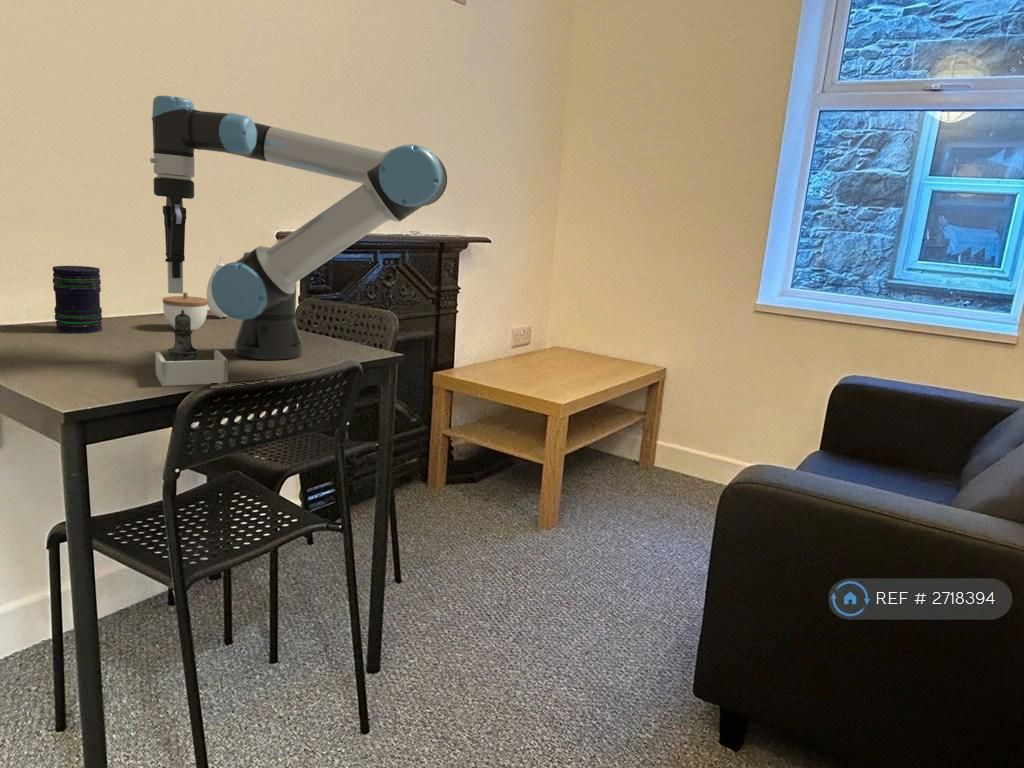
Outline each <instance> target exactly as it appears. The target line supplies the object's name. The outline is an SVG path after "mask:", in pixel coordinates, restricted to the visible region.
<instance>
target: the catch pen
mask: <svg viewBox="0 0 1024 768" xmlns="http://www.w3.org/2000/svg"><path fill="white" fill-rule="evenodd" d="M213 351H214V352H213V355H214V357H213V359H203V360H201V359H199V360H196V359H195V360H194V361H173V360H167V361H166V359H165V358H164V356H163V355H162V353H161V352H160V351H154V354H155V356H154V357H155V375H156V377H157V379H158V381H159V383H160V384H161V386H162V387H169V386H189V385H191V386H192V385H193V386H194V385H212V384H211V383H218V382H228V383H229V360H228V358H226V357H225V356H224V355H223V354H222V353H221V351H220V350H213ZM218 384H219V383H218Z"/></svg>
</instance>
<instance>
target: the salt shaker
mask: <svg viewBox="0 0 1024 768" xmlns="http://www.w3.org/2000/svg"><path fill="white" fill-rule="evenodd" d="M172 333H173V334H174V345H173V347H171V348H168V349H167V350H166V351H167V352H168V353H169V355H168V356H169V357H170V359H171V361H196V358H197V357H198V352H199V349H198V348H196V347H194V346H193V344H192V334H193V330H191V325H190V317H189V316H188V315H186V314H184V310H182V311H181V314H179V315H177V316H176V317H175V329H174V331H173V332H172Z"/></svg>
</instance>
